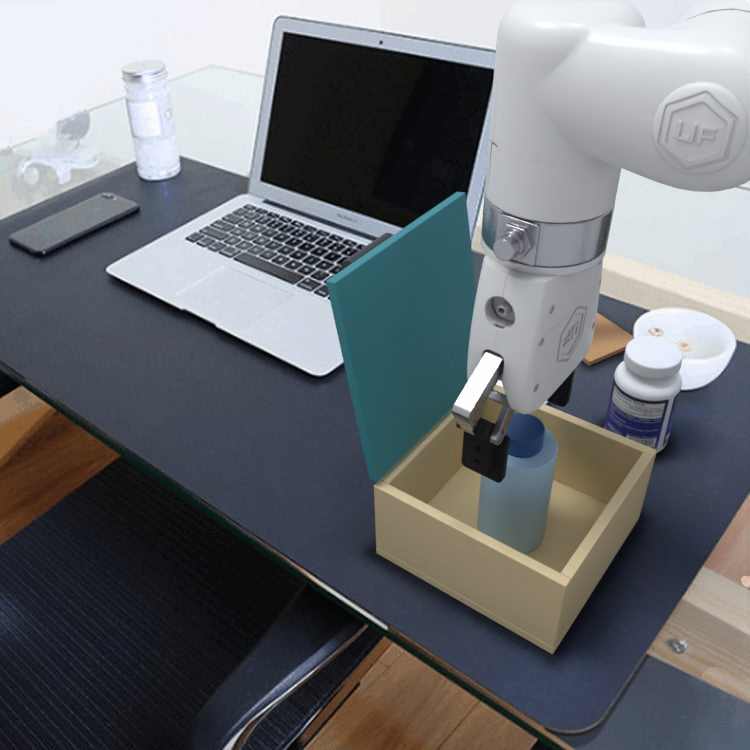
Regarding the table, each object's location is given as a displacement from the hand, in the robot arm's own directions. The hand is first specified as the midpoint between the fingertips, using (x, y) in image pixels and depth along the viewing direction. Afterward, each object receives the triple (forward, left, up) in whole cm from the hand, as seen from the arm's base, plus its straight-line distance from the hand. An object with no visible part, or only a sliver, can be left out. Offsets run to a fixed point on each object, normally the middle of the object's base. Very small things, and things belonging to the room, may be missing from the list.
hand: (517, 433), depth 58 cm
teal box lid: (+8, +3, +5) cm, 10 cm away
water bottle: (0, 0, -10) cm, 10 cm away
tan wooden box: (0, 0, -11) cm, 11 cm away
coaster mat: (+17, -25, -11) cm, 32 cm away
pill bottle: (+3, -17, -11) cm, 21 cm away
